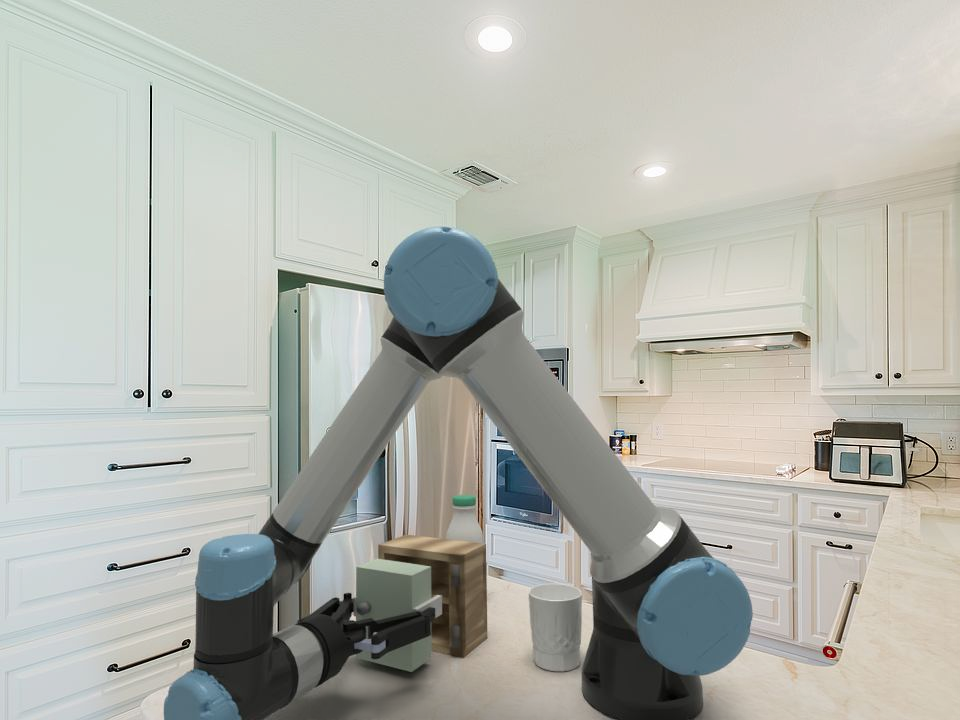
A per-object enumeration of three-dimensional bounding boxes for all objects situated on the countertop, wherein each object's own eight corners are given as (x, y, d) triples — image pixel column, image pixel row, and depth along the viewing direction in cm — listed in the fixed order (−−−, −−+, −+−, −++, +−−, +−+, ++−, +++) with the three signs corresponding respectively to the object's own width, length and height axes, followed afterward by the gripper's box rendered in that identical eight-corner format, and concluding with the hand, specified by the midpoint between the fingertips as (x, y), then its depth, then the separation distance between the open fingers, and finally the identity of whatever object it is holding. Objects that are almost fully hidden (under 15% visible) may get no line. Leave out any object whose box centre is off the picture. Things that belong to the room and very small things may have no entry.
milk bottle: (437, 602, 108) (436, 497, 109) (461, 591, 114) (460, 492, 116) (469, 610, 103) (468, 500, 105) (492, 598, 110) (491, 494, 111)
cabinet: (487, 637, 91) (486, 543, 92) (460, 659, 83) (459, 556, 84) (406, 621, 98) (406, 534, 99) (375, 640, 90) (375, 545, 92)
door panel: (431, 657, 82) (431, 566, 83) (406, 675, 76) (406, 578, 77) (376, 644, 86) (377, 558, 87) (350, 661, 81) (350, 568, 82)
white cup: (563, 679, 77) (561, 604, 77) (519, 662, 82) (517, 592, 83) (594, 660, 82) (592, 590, 83) (550, 645, 88) (549, 580, 88)
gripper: (237, 669, 71) (353, 612, 91) (378, 712, 61) (475, 637, 81) (239, 609, 72) (353, 565, 92) (378, 641, 62) (474, 584, 81)
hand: (410, 599), depth 86 cm, fingers closed on door panel, 10 cm apart
